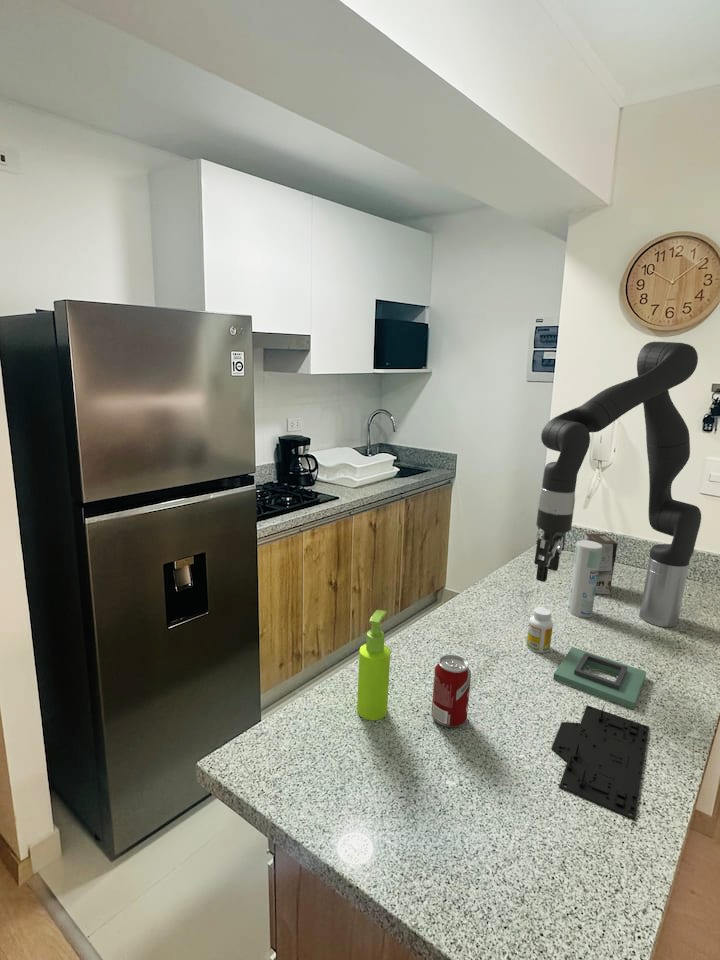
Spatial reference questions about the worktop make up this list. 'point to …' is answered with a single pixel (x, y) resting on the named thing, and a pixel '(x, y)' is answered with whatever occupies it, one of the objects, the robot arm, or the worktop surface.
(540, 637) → the supplement bottle
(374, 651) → the soap dispenser
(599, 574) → the coffee box
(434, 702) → the soda can
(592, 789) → the circuit board
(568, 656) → the socket board
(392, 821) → the worktop surface
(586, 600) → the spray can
